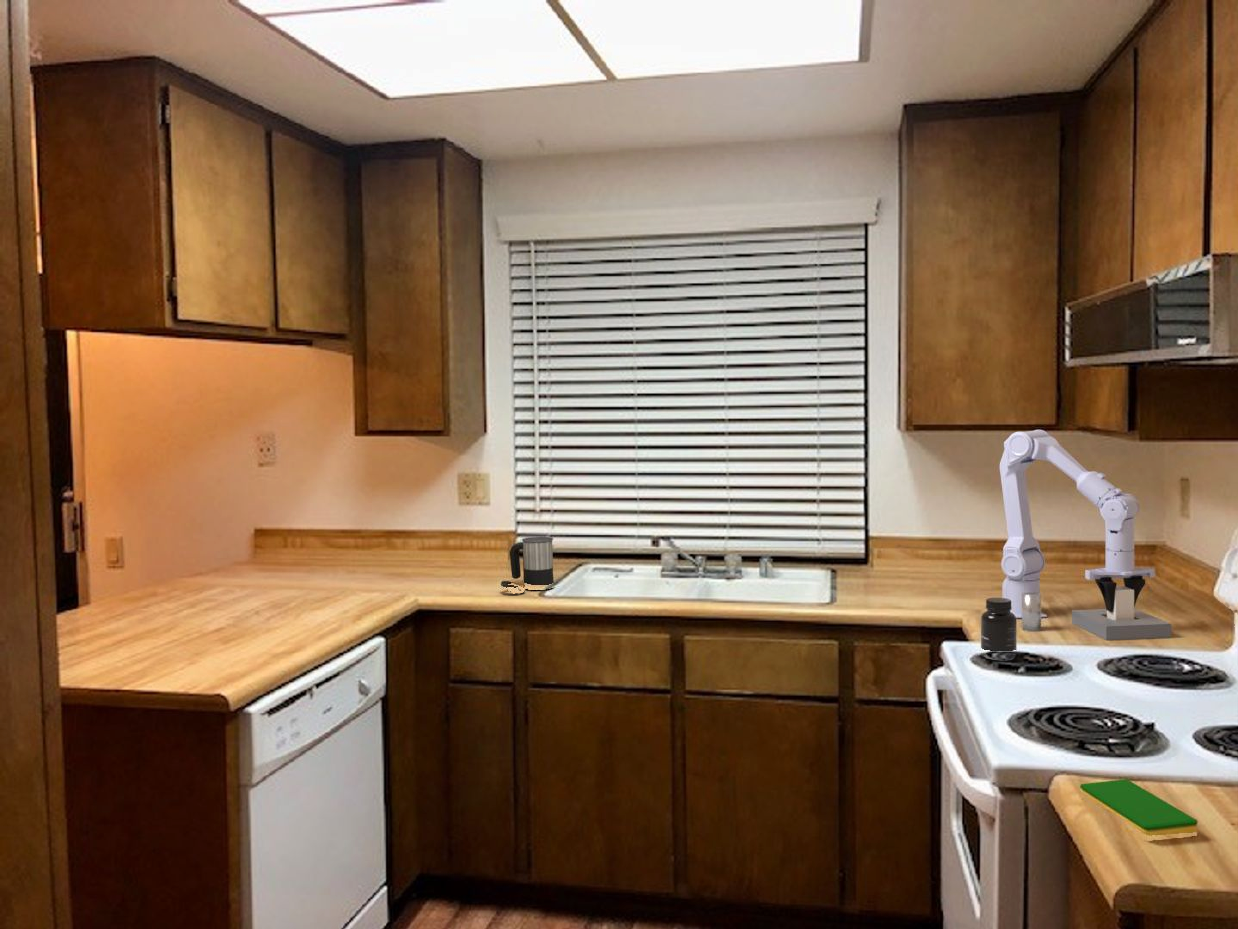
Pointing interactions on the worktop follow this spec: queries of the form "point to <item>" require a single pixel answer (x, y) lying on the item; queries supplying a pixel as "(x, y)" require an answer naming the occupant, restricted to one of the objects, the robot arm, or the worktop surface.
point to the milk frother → (532, 561)
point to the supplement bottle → (998, 626)
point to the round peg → (1031, 611)
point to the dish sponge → (1140, 807)
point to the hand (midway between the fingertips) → (1119, 610)
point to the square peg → (1122, 604)
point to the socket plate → (1121, 625)
